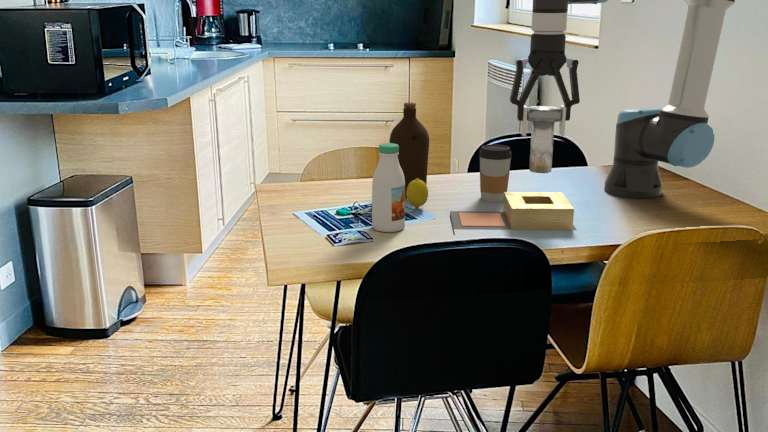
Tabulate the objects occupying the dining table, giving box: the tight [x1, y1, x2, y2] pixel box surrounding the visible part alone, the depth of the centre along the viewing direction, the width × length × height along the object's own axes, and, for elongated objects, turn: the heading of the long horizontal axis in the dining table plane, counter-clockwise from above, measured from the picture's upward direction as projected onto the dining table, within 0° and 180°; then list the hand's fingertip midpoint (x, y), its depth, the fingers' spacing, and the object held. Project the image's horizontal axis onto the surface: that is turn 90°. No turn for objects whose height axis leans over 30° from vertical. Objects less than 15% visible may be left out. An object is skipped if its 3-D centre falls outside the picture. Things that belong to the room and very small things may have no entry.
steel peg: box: [527, 105, 562, 174], centre depth 173 cm, size 8×8×14 cm
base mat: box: [449, 210, 577, 236], centre depth 179 cm, size 28×14×2 cm, turn 89°
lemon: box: [406, 178, 429, 209], centre depth 192 cm, size 6×6×8 cm
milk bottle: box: [371, 142, 406, 233], centre depth 175 cm, size 8×8×20 cm
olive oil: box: [389, 101, 430, 200], centre depth 202 cm, size 11×11×25 cm
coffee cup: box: [478, 144, 513, 203], centre depth 195 cm, size 8×8×15 cm
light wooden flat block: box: [502, 191, 575, 231], centre depth 178 cm, size 14×14×5 cm
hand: (542, 134), depth 173 cm, fingers closed on steel peg, 8 cm apart
